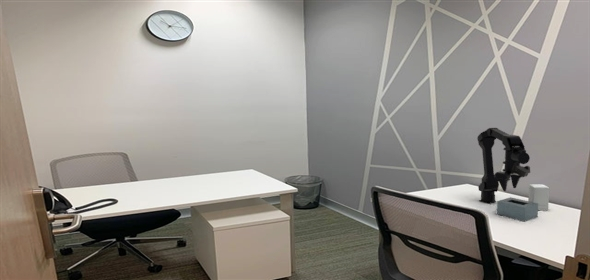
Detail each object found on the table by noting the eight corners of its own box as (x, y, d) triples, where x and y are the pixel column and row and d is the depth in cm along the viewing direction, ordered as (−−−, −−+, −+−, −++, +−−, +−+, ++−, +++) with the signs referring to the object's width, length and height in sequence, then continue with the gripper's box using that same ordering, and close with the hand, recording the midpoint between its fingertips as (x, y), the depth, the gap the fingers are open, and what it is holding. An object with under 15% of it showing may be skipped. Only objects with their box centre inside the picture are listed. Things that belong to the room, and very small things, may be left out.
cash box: (496, 214, 197) (497, 201, 196) (510, 210, 203) (510, 197, 202) (524, 221, 185) (525, 207, 184) (537, 216, 191) (538, 203, 190)
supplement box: (548, 210, 200) (549, 187, 198) (533, 210, 202) (534, 187, 200) (542, 206, 207) (543, 184, 206) (527, 206, 209) (528, 183, 207)
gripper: (517, 165, 184) (515, 196, 186) (537, 160, 193) (535, 189, 195) (494, 161, 193) (493, 191, 195) (515, 156, 202) (513, 185, 205)
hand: (509, 189), depth 197 cm, fingers open, 9 cm apart
